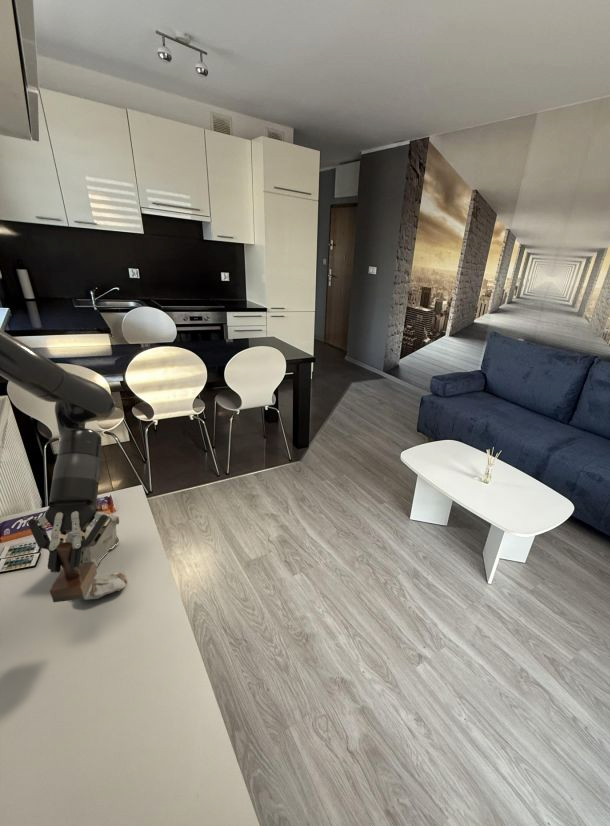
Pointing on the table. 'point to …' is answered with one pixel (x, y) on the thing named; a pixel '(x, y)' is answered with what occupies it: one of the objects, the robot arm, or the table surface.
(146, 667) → the table surface
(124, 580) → the stone
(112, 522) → the incense holder
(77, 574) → the stamp
